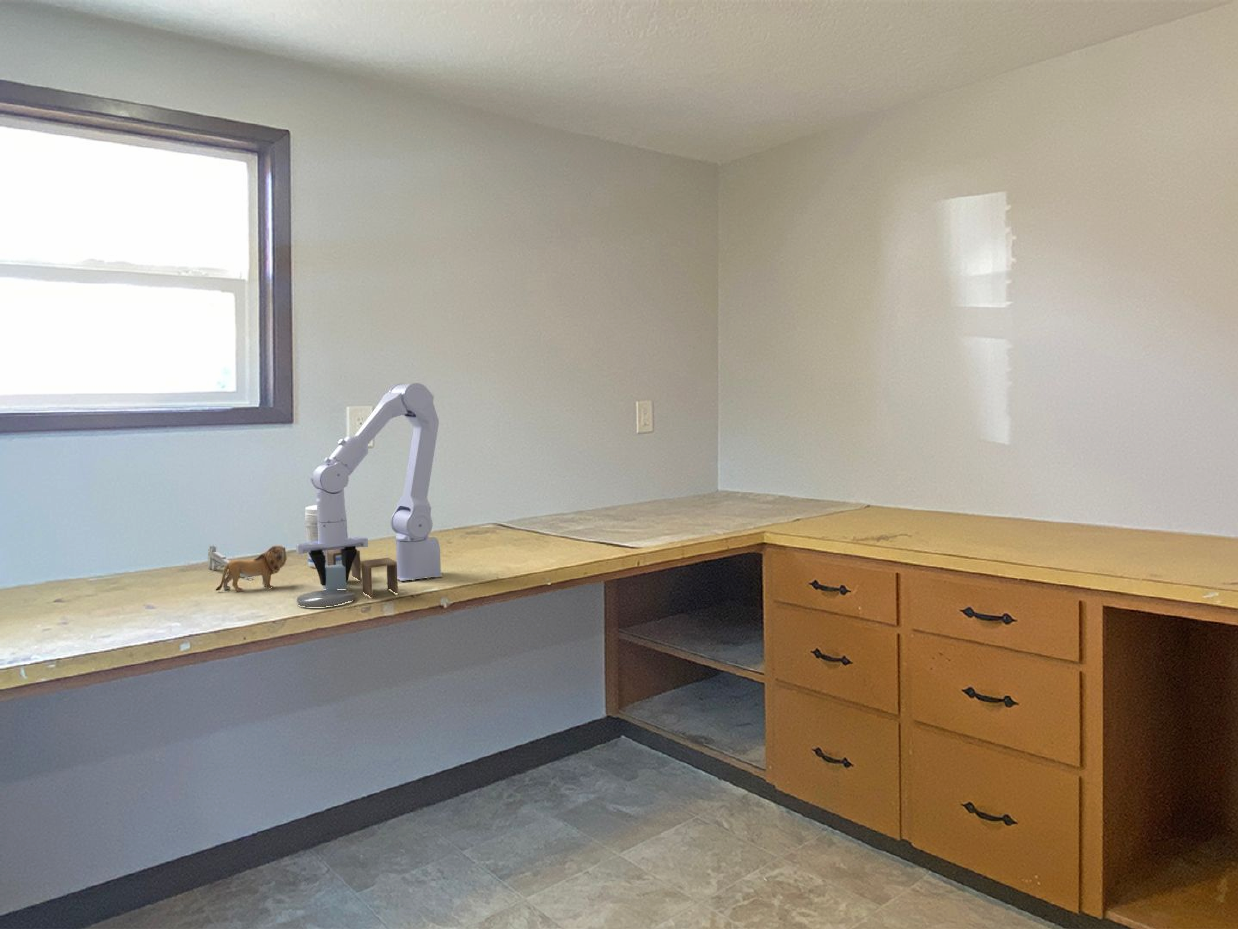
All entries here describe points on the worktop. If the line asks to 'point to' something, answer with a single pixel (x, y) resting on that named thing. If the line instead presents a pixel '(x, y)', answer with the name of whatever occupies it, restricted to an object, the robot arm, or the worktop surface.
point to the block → (335, 577)
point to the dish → (325, 598)
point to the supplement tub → (313, 533)
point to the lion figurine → (255, 567)
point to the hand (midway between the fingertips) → (334, 583)
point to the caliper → (219, 560)
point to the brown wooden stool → (367, 574)
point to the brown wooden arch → (355, 565)
